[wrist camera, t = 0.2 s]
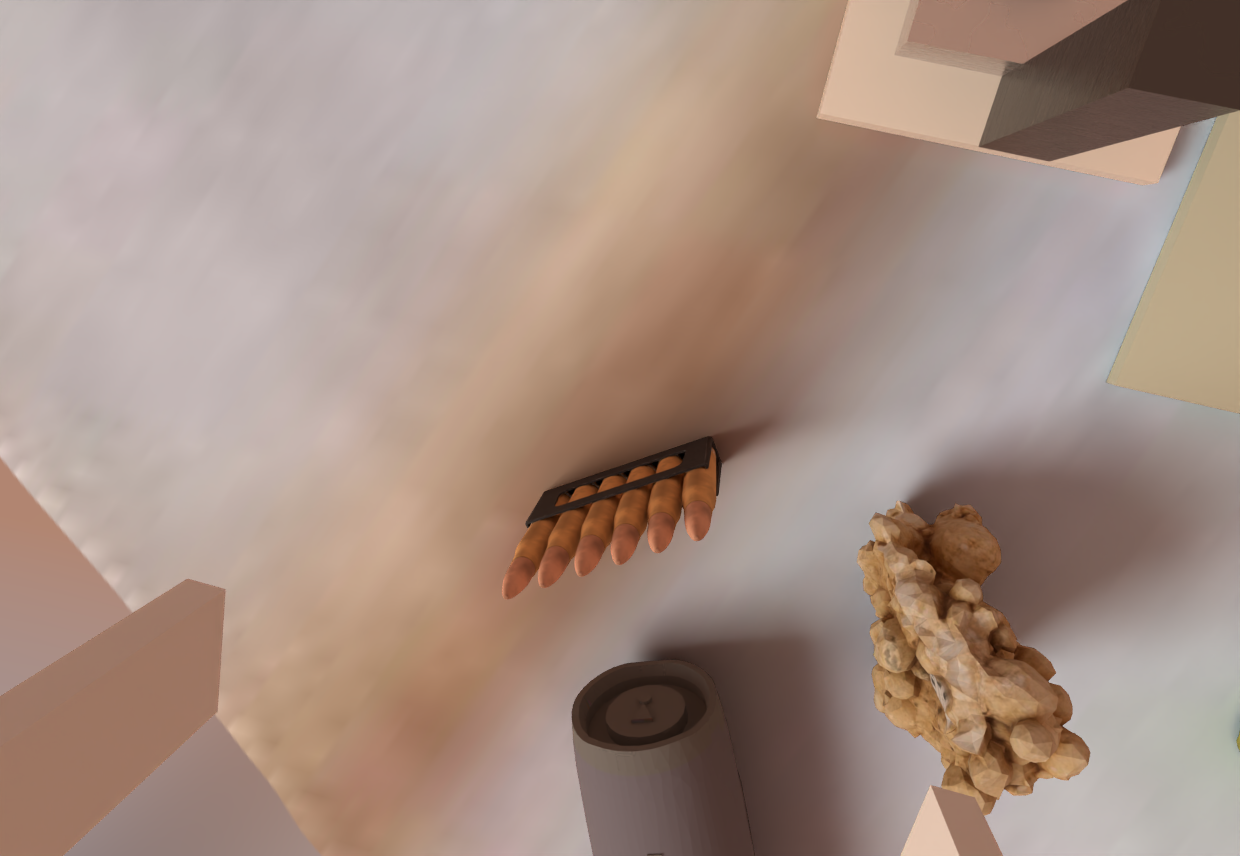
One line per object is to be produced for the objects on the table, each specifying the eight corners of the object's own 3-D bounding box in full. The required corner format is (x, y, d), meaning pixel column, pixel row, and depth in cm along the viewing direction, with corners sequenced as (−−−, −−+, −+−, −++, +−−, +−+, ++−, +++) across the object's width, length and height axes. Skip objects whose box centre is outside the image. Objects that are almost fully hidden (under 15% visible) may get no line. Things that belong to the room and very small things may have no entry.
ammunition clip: (711, 435, 39) (710, 511, 28) (722, 464, 40) (726, 551, 28) (542, 492, 41) (477, 584, 30) (554, 519, 42) (494, 621, 30)
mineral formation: (870, 694, 42) (953, 926, 27) (804, 497, 39) (857, 639, 25) (1007, 662, 40) (1173, 891, 26) (948, 454, 38) (1093, 580, 23)
